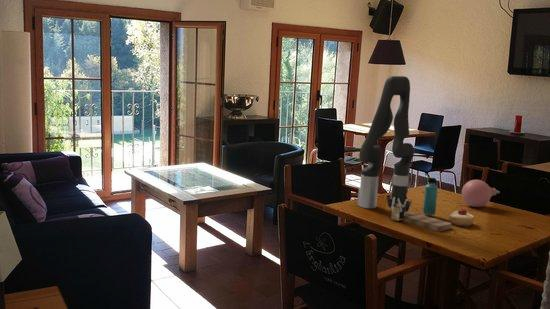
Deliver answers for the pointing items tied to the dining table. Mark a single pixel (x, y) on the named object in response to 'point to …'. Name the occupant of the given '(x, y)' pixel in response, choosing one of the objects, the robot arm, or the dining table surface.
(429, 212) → the beverage bottle
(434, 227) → the board
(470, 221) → the pastry
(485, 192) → the balloon
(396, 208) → the beige cube mallet
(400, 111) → the robot arm
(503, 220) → the dining table surface
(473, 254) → the dining table surface
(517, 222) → the dining table surface
